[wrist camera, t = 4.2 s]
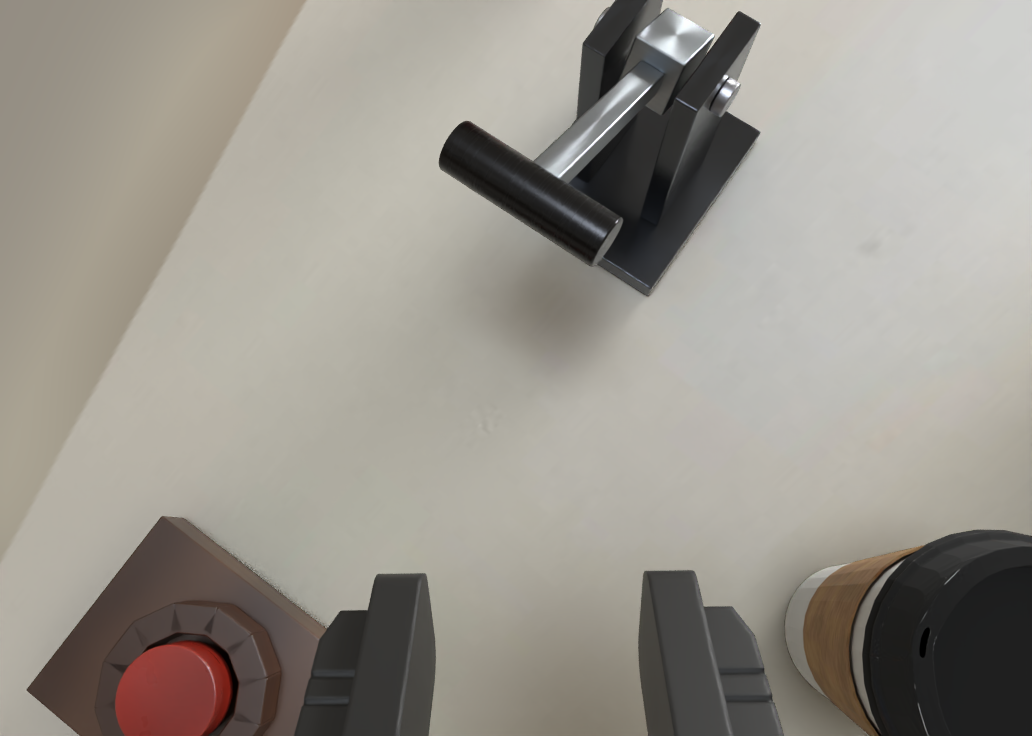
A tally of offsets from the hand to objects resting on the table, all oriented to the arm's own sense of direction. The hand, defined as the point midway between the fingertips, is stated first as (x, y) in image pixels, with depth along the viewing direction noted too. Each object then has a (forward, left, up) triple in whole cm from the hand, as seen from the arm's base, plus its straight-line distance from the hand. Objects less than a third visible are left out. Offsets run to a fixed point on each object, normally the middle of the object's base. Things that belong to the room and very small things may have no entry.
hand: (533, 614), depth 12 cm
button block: (-9, -12, -25) cm, 30 cm away
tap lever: (-7, +14, -15) cm, 21 cm away
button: (-9, -12, -22) cm, 27 cm away
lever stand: (-7, +19, -25) cm, 32 cm away
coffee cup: (+13, +6, -26) cm, 29 cm away
